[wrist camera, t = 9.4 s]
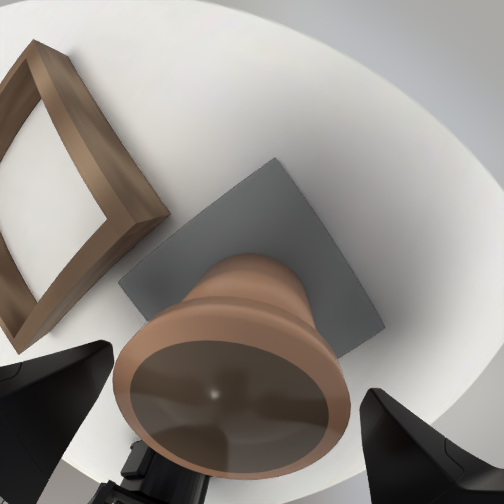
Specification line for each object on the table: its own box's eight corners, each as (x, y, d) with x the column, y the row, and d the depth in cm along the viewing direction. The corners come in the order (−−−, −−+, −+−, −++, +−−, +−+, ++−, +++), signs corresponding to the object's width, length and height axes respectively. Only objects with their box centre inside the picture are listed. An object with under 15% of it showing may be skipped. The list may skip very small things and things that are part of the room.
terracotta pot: (338, 322, 14) (384, 434, 6) (238, 379, 15) (214, 492, 7) (265, 217, 13) (251, 255, 5) (163, 292, 14) (76, 376, 7)
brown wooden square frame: (170, 214, 14) (135, 223, 10) (48, 332, 17) (18, 354, 13) (67, 56, 12) (33, 39, 8) (-21, 192, 15) (-51, 197, 11)
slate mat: (382, 323, 15) (385, 327, 14) (233, 405, 17) (233, 411, 16) (275, 158, 13) (275, 157, 13) (122, 279, 15) (117, 282, 15)
